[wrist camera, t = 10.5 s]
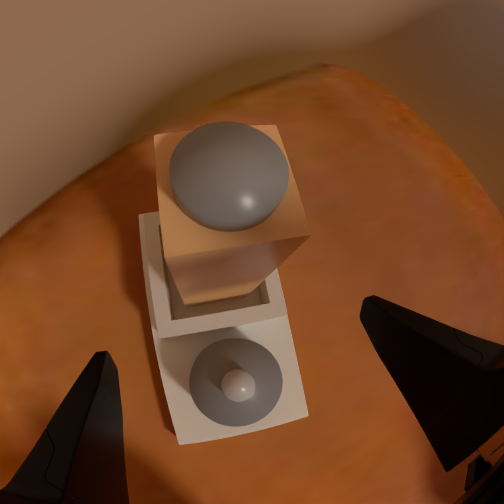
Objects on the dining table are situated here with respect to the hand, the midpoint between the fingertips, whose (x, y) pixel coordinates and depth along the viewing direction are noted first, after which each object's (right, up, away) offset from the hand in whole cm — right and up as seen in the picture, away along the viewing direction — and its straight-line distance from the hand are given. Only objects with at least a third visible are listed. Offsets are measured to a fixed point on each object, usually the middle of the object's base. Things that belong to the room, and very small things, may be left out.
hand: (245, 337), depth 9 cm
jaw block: (-3, +1, +12) cm, 13 cm away
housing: (-2, -2, +13) cm, 13 cm away
